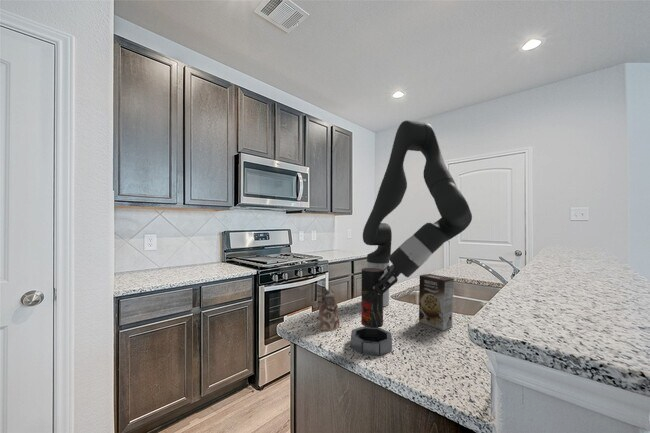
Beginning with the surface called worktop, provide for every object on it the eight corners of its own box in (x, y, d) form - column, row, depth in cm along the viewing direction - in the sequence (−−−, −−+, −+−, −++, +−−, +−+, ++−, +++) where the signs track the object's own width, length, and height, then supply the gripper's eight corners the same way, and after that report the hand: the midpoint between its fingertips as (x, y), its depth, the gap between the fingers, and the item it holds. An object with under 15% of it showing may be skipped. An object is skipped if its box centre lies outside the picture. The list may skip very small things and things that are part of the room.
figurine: (322, 332, 87) (323, 293, 87) (313, 324, 93) (314, 288, 93) (343, 328, 90) (343, 291, 90) (332, 320, 96) (333, 285, 96)
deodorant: (387, 326, 76) (387, 271, 76) (366, 328, 74) (367, 272, 74) (376, 319, 82) (377, 267, 82) (358, 321, 80) (358, 268, 80)
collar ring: (352, 335, 84) (353, 325, 84) (390, 338, 82) (390, 328, 82) (349, 352, 74) (349, 341, 74) (392, 357, 72) (392, 345, 72)
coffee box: (417, 322, 95) (418, 275, 95) (428, 318, 99) (428, 272, 100) (443, 331, 88) (444, 280, 88) (453, 326, 92) (454, 277, 92)
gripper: (397, 243, 84) (357, 281, 86) (402, 248, 70) (354, 294, 72) (416, 262, 83) (375, 300, 85) (424, 270, 69) (375, 316, 71)
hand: (365, 297), depth 78 cm, fingers closed on deodorant, 6 cm apart
